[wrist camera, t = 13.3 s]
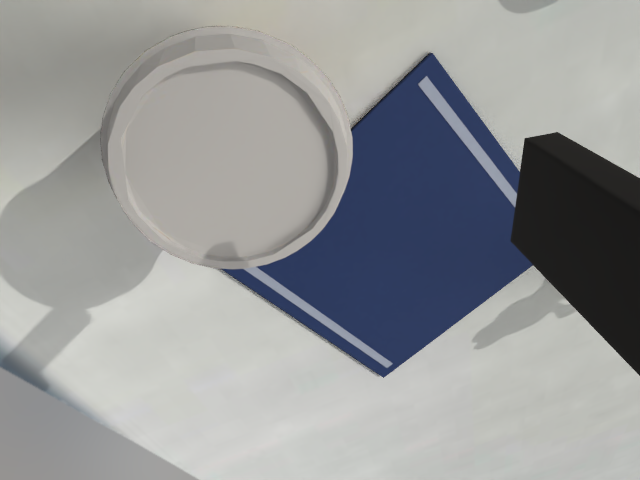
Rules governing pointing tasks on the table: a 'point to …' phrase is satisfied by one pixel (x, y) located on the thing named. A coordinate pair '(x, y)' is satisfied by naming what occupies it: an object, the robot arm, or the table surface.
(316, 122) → the disposable coffee cup
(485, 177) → the napkin
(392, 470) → the table surface
